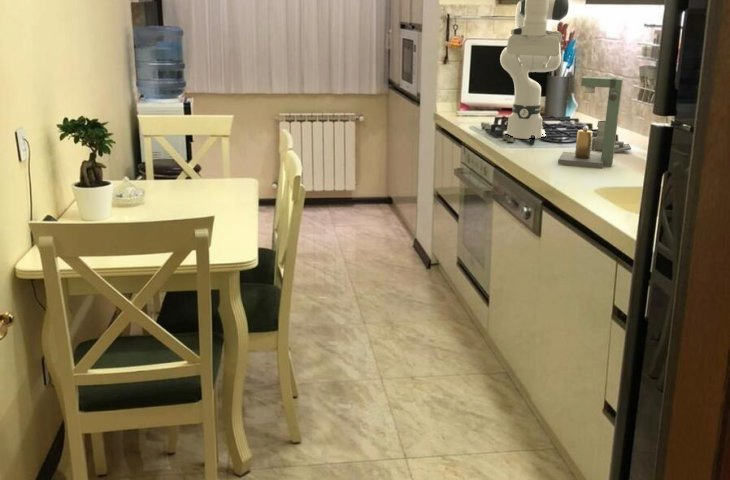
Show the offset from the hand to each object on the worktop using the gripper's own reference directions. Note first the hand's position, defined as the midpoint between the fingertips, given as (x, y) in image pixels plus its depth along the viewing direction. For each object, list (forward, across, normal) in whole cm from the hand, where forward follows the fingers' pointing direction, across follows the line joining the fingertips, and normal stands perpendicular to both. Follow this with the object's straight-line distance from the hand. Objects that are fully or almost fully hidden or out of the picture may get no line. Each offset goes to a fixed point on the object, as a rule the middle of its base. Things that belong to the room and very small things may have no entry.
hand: (532, 67), depth 290 cm
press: (+33, -25, +12) cm, 43 cm away
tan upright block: (+31, -23, +9) cm, 40 cm away
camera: (+34, -31, -17) cm, 49 cm away
